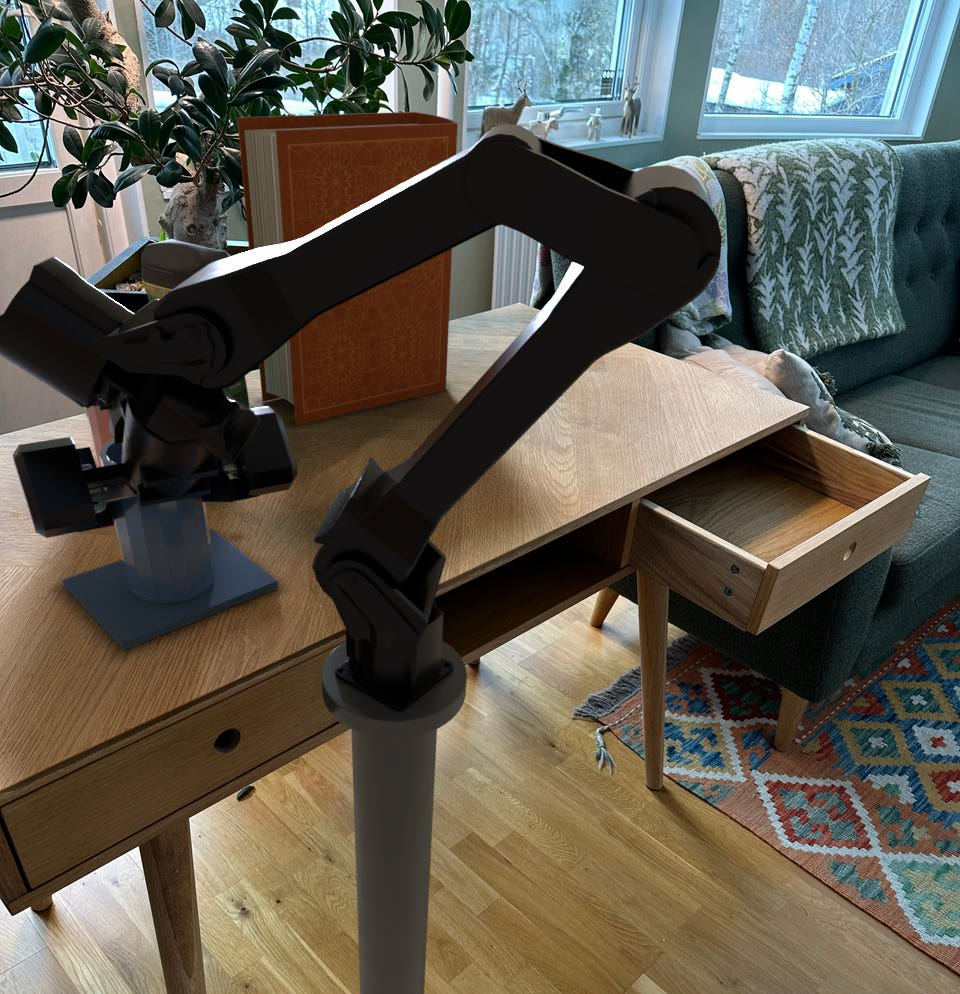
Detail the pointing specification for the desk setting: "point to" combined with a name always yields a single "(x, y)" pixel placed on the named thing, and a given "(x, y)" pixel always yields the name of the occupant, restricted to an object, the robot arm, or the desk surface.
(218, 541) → the blue mat
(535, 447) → the desk surface
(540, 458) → the desk surface
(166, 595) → the blue cup
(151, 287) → the coffee jar
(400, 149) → the book
